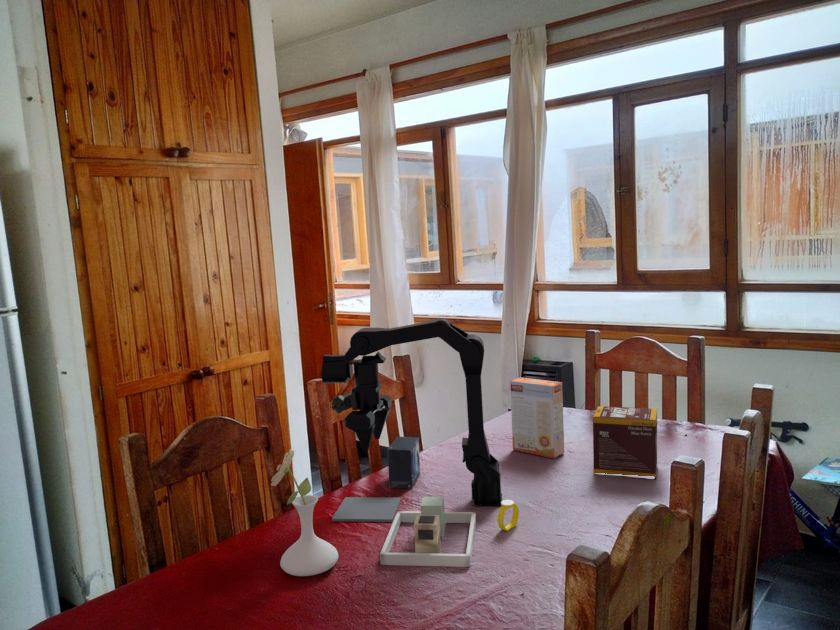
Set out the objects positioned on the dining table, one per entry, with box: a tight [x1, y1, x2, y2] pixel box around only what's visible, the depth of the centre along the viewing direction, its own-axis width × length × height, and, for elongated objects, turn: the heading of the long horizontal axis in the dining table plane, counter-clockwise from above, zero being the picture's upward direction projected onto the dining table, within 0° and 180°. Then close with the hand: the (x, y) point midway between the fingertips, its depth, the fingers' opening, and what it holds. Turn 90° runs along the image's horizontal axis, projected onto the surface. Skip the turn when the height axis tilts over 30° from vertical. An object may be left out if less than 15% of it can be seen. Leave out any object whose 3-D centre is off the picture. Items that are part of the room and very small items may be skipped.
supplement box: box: [592, 405, 658, 478], centre depth 168 cm, size 10×15×16 cm
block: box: [420, 496, 446, 538], centre depth 139 cm, size 4×4×7 cm
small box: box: [387, 436, 421, 490], centre depth 169 cm, size 11×6×10 cm, turn 168°
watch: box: [497, 499, 520, 532], centre depth 139 cm, size 6×3×6 cm, turn 137°
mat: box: [331, 496, 402, 523], centre depth 153 cm, size 14×12×1 cm
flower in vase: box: [270, 448, 339, 577], centre depth 125 cm, size 13×11×25 cm
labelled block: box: [413, 515, 442, 554], centre depth 130 cm, size 4×5×7 cm
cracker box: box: [509, 376, 565, 459], centre depth 184 cm, size 14×6×21 cm, turn 47°
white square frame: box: [379, 510, 477, 568], centre depth 135 cm, size 18×20×2 cm
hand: (371, 445), depth 155 cm, fingers open, 9 cm apart
